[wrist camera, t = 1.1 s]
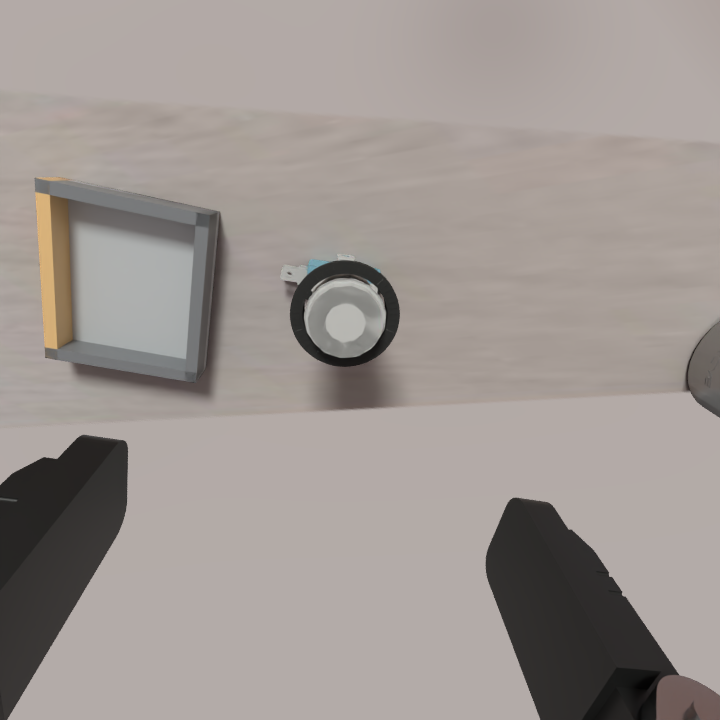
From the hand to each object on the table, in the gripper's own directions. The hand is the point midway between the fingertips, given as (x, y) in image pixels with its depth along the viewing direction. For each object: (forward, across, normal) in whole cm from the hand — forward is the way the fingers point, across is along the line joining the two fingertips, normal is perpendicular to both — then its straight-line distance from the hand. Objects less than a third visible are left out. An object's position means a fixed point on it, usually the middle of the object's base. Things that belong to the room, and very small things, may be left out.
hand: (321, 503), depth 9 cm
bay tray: (+22, +12, +3) cm, 26 cm away
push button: (+22, 0, 0) cm, 23 cm away
